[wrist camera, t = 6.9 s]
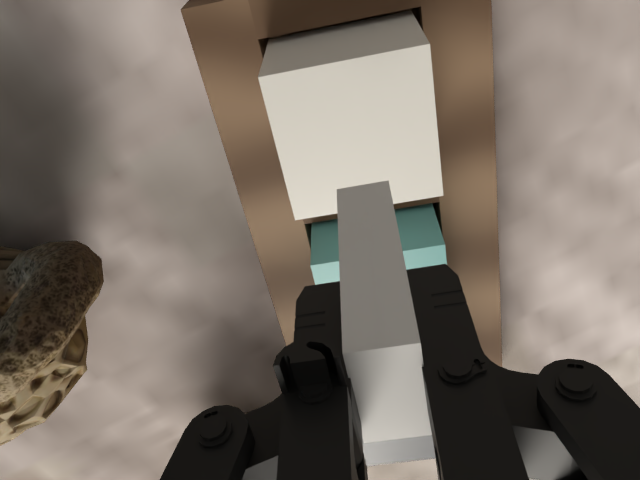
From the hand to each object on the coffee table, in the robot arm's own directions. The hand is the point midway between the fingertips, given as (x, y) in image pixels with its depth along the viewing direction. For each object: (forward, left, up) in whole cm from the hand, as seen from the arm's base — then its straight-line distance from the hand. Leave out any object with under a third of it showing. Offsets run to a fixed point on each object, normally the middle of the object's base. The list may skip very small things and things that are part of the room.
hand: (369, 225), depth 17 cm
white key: (0, 0, -11) cm, 11 cm away
